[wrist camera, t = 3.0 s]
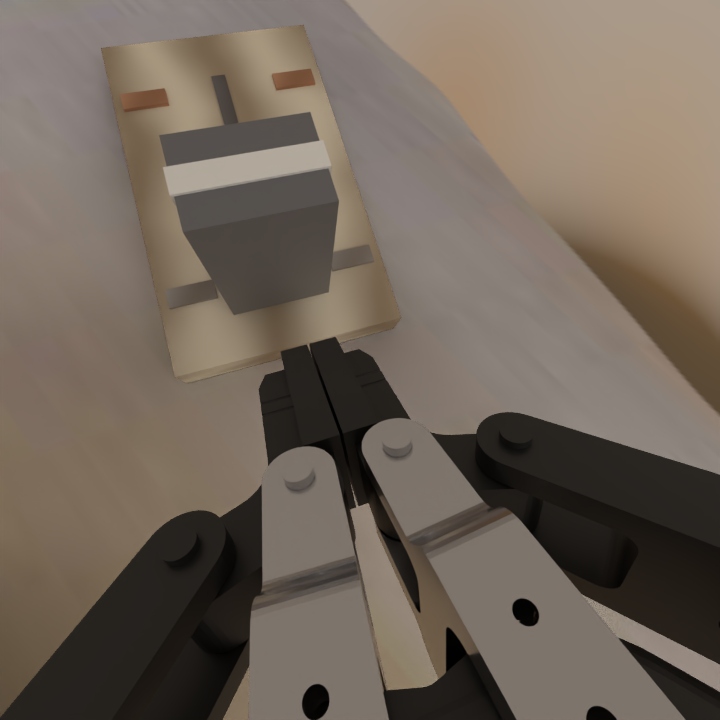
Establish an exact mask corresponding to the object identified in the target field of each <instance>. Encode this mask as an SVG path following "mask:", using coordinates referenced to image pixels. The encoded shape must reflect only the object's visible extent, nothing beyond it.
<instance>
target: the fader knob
mask: <svg viewBox="0 0 720 720" xmlns="http://www.w3.org/2000/svg"><path fill="white" fill-rule="evenodd" d="M159 137H160V141H161V145H162V149H163V154H164V158H165V162H166V166H167V167H163V170H164V174H165V179H166V183H167V187H168V191H169V195H170V197H171V199H172V200H173V202H174V204H175V205H176V207H177V211H178V215H179V219H180V223H181V227H182V231H183V233H184V235H185V237H186V238H187V240H188V242H189V243H190V245H191V246H192V248H193V250H194V251H195V253H196V255H197V256H198V258H199V259H200V261H201V263H202V264H203V266H204V268H205V269H206V271H207V272H208V274H209V276H210V277H211V279H212V281H213V282H214V284H215V285H216V287H217V289H218V290H219V292H220V294H221V295H222V297H223V298H224V300H225V302H226V303H227V305H228V306H229V308H230V310H231V311H232V313H233V315H237V314H241V313H245V312H249V311H253V310H258V309H262V308H266V307H270V306H274V305H278V304H282V303H287V302H291V301H295V300H299V299H303V298H307V297H311V296H316V295H320V294H324V293H328V292H329V285H330V276H331V267H332V259H333V250H334V241H335V232H336V224H337V215H338V206H339V199H338V196H337V193H336V190H335V187H334V184H333V181H332V177H331V166H332V165H331V162H330V159H329V156H328V153H327V150H326V147H325V144H324V141H323V140H319V137H318V134H317V131H316V128H315V125H314V122H313V119H312V116H311V112H306V113H299V114H293V115H287V116H280V117H274V118H267V119H261V120H254V121H248V122H241V123H235V124H229V125H222V126H216V127H209V128H203V129H196V130H190V131H183V132H177V133H170V134H164V135H159Z"/></svg>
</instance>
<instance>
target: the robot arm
mask: <svg viewBox="0 0 720 720" xmlns="http://www.w3.org/2000/svg"><path fill="white" fill-rule="evenodd" d="M309 347H310V351H311V354H310V351H309V348H308V346H307V344H306V345H302V346H299V347H295V348H291V349H287V350H284V351H280V352H281V357H282V361H283V365H284V369H285V370H282V371H278V372H275V373H271V374H267V375H265V377H264V379H263V381H262V383H261V385H260V388H259V395H260V402H261V410H262V416H263V417H262V418H263V426H264V433H265V441H266V449H267V457H268V467H267V469H266V471H265V473H264V475H263V479H262V485H261V486H260V487H259V489H258V490H257V491H256V492H255V493H254V494H253V495H252V496H251V497H250V498H249V499H248V500H246V501H245V502H243V503H242V504H241V505H239V506H237V507H236V508H234V509H233V510H231V511H230V512H228V513H226V514H225V515H223V516H222V517H220V518H219V517H218V516H217V515H216V514H214V513H212V512H208V511H200V510H198V511H191V512H187V513H184V514H182V515H179V516H177V517H175V518H173V519H171V520H170V521H168V522H167V523H166V524H164V525H163V526H162V527H161V528H159V529H158V530H157V531H156V532H155V533H154V534H153V535H152V536H151V538H150V539H149V540H148V541H147V542H146V544H145V545H144V546H143V547H142V548H141V550H140V551H139V552H138V553H137V554H136V556H135V557H134V558H133V559H132V560H131V562H130V563H129V564H128V565H127V566H126V568H125V569H124V570H123V571H122V572H121V574H120V575H119V576H118V577H117V578H116V580H115V581H114V582H113V583H112V584H111V586H110V587H109V588H108V589H107V590H106V592H105V593H104V594H103V595H102V596H101V598H100V599H99V600H98V601H97V602H96V604H95V605H94V606H93V607H92V608H91V610H90V611H89V612H88V613H87V614H86V616H85V617H84V618H83V619H82V620H81V622H80V623H79V624H78V625H77V626H76V627H75V629H74V630H73V631H72V632H71V633H70V635H69V636H68V637H67V638H66V639H65V641H64V642H63V643H62V644H61V645H60V647H59V648H58V649H57V650H56V651H55V653H54V654H53V655H52V656H51V657H50V659H49V660H48V661H47V662H46V663H45V665H44V666H43V667H42V668H41V669H40V671H39V672H38V673H37V674H36V675H35V677H34V678H33V679H32V680H31V681H30V683H29V684H28V685H27V686H26V687H25V689H24V690H23V691H22V692H21V693H20V695H19V696H18V697H17V698H16V699H15V701H14V702H13V703H12V704H11V705H10V707H9V708H8V709H7V710H6V711H5V713H4V714H3V715H2V716H1V717H0V720H223V718H224V715H225V713H226V711H227V709H228V707H229V705H230V703H231V701H232V699H233V697H234V695H235V693H236V691H237V689H238V687H239V685H240V683H241V681H242V679H243V677H244V675H245V673H246V671H247V669H248V667H249V720H720V692H719V691H717V690H715V689H714V688H712V687H710V686H708V685H707V684H705V683H703V682H701V681H699V680H698V679H696V678H694V677H692V676H691V675H689V674H687V673H685V672H684V671H682V670H680V669H678V668H677V667H675V666H673V665H671V664H670V663H668V662H666V661H664V660H663V659H661V658H659V657H657V656H655V655H654V654H652V653H650V652H648V651H646V650H644V649H643V648H641V647H639V646H636V645H634V644H632V643H629V642H627V641H625V640H623V639H620V638H617V636H616V635H615V634H614V633H613V632H612V630H611V629H610V628H609V627H608V626H607V624H606V623H605V622H604V621H603V620H602V618H601V617H600V616H599V615H598V614H597V612H596V611H595V610H594V609H593V607H592V606H591V605H590V604H589V603H588V601H587V600H586V599H585V598H584V597H583V595H585V596H586V597H588V598H590V599H592V600H594V601H596V602H598V603H600V604H602V605H604V606H606V607H608V608H610V609H612V610H614V611H616V612H618V613H620V614H622V615H624V616H626V617H628V618H630V619H632V620H634V621H636V622H638V623H640V624H641V625H643V626H645V627H647V628H649V629H651V630H653V631H655V632H657V633H659V634H661V635H663V636H665V637H667V638H669V639H671V640H673V641H675V642H677V643H679V644H681V645H683V646H685V647H687V648H689V649H691V650H693V651H695V652H697V653H698V654H700V655H702V656H704V657H706V658H708V659H710V660H712V661H714V662H716V663H718V664H720V475H719V474H716V473H712V472H709V471H706V470H703V469H700V468H696V467H693V466H690V465H687V464H683V463H680V462H677V461H674V460H670V459H667V458H664V457H661V456H657V455H654V454H651V453H648V452H644V451H641V450H638V449H635V448H632V447H628V446H625V445H622V444H619V443H615V442H612V441H609V440H606V439H602V438H599V437H596V436H593V435H589V434H586V433H583V432H580V431H576V430H573V429H570V428H567V427H564V426H560V425H557V424H554V423H551V422H547V421H544V420H541V419H538V418H534V417H531V416H528V415H524V414H520V413H513V412H505V413H498V414H494V415H492V416H489V417H488V418H486V419H485V420H483V421H482V422H481V424H480V425H479V427H478V429H477V434H464V435H440V434H435V433H431V432H429V431H428V430H427V428H426V427H424V426H423V425H422V424H420V423H418V422H416V421H413V420H411V419H410V418H409V416H408V414H407V413H406V411H405V410H404V408H403V406H402V405H401V403H400V401H399V400H398V398H397V396H396V395H395V393H394V392H393V390H392V388H391V387H390V385H389V383H388V382H387V381H386V378H385V377H384V375H383V373H382V372H381V371H380V369H379V367H378V365H377V364H376V362H375V360H374V359H373V357H371V356H370V355H368V354H366V353H365V352H363V351H361V350H360V349H358V350H354V351H351V352H347V353H344V352H343V350H342V348H341V346H340V344H339V342H338V340H337V338H336V337H332V338H328V339H325V340H321V341H317V342H313V343H310V344H309ZM311 356H312V357H311ZM350 482H351V483H350ZM351 485H352V487H351ZM352 488H353V491H354V494H355V497H356V500H357V503H358V506H361V505H363V504H366V503H369V505H370V508H371V511H372V513H373V516H374V519H375V524H376V530H377V534H378V537H379V539H380V541H381V543H382V545H383V548H384V550H385V552H386V554H387V556H388V559H389V561H390V563H391V565H392V567H393V569H394V572H395V574H396V576H397V578H398V580H399V583H400V585H401V587H402V589H403V591H404V593H405V596H406V598H407V600H408V602H409V604H410V606H411V609H412V611H413V613H414V615H415V618H416V620H417V623H418V625H419V628H420V631H421V634H422V637H423V640H424V643H425V646H426V649H427V652H428V654H429V657H430V659H431V662H432V664H433V667H434V669H435V671H436V674H437V676H438V678H439V679H438V680H437V681H436V682H435V683H433V684H432V685H430V686H427V687H423V688H411V689H399V690H388V689H387V685H386V680H385V676H384V672H383V667H382V663H381V658H380V654H379V650H378V646H377V641H376V637H375V632H374V628H373V623H372V619H371V614H370V610H369V605H368V601H367V596H366V591H365V587H364V582H363V578H362V573H361V569H360V564H359V560H358V555H357V551H356V546H355V539H356V537H355V529H354V525H353V520H352V516H351V512H350V509H352V508H355V507H356V505H355V501H354V496H353V492H352ZM582 594H583V595H582Z"/></svg>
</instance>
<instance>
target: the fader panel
mask: <svg viewBox="0 0 720 720" xmlns="http://www.w3.org/2000/svg"><path fill="white" fill-rule="evenodd" d="M101 51H102V55H103V60H104V64H105V68H106V73H107V77H108V82H109V86H110V91H111V95H112V100H113V104H114V109H115V113H116V117H117V122H118V126H119V131H120V135H121V140H122V144H123V149H124V153H125V157H126V162H127V166H128V171H129V175H130V180H131V184H132V189H133V193H134V197H135V202H136V206H137V211H138V215H139V220H140V224H141V229H142V233H143V238H144V242H145V246H146V251H147V255H148V260H149V264H150V269H151V273H152V278H153V282H154V286H155V291H156V295H157V300H158V304H159V309H160V313H161V318H162V322H163V326H164V331H165V335H166V340H167V344H168V349H169V353H170V358H171V362H172V367H173V371H174V375H175V378H178V379H180V380H182V381H184V382H186V383H190V382H194V381H198V380H202V379H205V378H209V377H213V376H217V375H220V374H224V373H228V372H231V371H235V370H239V369H243V368H246V367H250V366H254V365H258V364H261V363H265V362H269V361H273V360H276V359H280V358H282V357H281V352H280V351H284V350H287V349H291V348H295V347H299V346H302V345H306V344H307V346H308V348H309V351H310V347H309V344H310V343H313V342H317V341H321V340H325V339H328V338H332V337H336V338H337V340H338V342H339V343H340V342H344V341H348V340H351V339H355V338H359V337H363V336H366V335H370V334H374V333H378V332H381V331H385V330H389V329H393V328H394V327H395V326H396V324H397V323H398V322H399V320H400V319H401V315H400V312H399V309H398V306H397V303H396V300H395V297H394V294H393V291H392V288H391V285H390V282H389V279H388V276H387V273H386V270H385V267H384V264H383V261H382V258H381V255H380V252H379V249H378V246H377V243H376V240H375V237H374V234H373V231H372V228H371V225H370V222H369V219H368V216H367V213H366V210H365V207H364V205H363V202H362V199H361V196H360V193H359V190H358V187H357V184H356V181H355V178H354V175H353V172H352V169H351V166H350V163H349V160H348V157H347V154H346V151H345V148H344V145H343V142H342V139H341V136H340V133H339V130H338V127H337V124H336V121H335V118H334V115H333V112H332V109H331V106H330V103H329V100H328V97H327V94H326V91H325V88H324V85H323V82H322V79H321V76H320V73H319V70H318V67H317V64H316V61H315V58H314V55H313V52H312V49H311V46H310V43H309V40H308V37H307V34H306V31H305V28H304V25H299V26H290V27H281V28H273V29H264V30H255V31H246V32H238V33H229V34H220V35H211V36H203V37H194V38H185V39H176V40H167V41H159V42H150V43H141V44H132V45H124V46H115V47H106V48H101ZM306 112H311V116H312V119H313V122H314V125H315V128H316V131H317V134H318V137H319V140H323V141H324V144H325V147H326V150H327V153H328V156H329V159H330V162H331V165H332V166H331V177H332V181H333V184H334V187H335V190H336V193H337V196H338V199H339V206H338V215H337V224H336V232H335V241H334V250H333V259H332V267H331V276H330V285H329V292H328V293H324V294H320V295H316V296H311V297H307V298H303V299H299V300H295V301H291V302H287V303H282V304H278V305H274V306H270V307H266V308H262V309H258V310H253V311H249V312H245V313H241V314H237V315H233V313H232V311H231V310H230V308H229V306H228V305H227V303H226V302H225V300H224V298H223V297H222V295H221V294H220V292H219V290H218V289H217V287H216V285H215V284H214V282H213V281H212V279H211V277H210V276H209V274H208V272H207V271H206V269H205V268H204V266H203V264H202V263H201V261H200V259H199V258H198V256H197V255H196V253H195V251H194V250H193V248H192V246H191V245H190V243H189V242H188V240H187V238H186V237H185V235H184V233H183V231H182V227H181V223H180V219H179V215H178V211H177V207H176V205H175V204H174V202H173V200H172V199H171V197H170V195H169V191H168V187H167V183H166V179H165V174H164V170H163V167H167V166H166V162H165V158H164V154H163V149H162V145H161V141H160V137H159V135H164V134H170V133H177V132H183V131H190V130H196V129H203V128H209V127H216V126H222V125H229V124H235V123H241V122H248V121H254V120H261V119H267V118H274V117H280V116H287V115H293V114H299V113H306Z"/></svg>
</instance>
